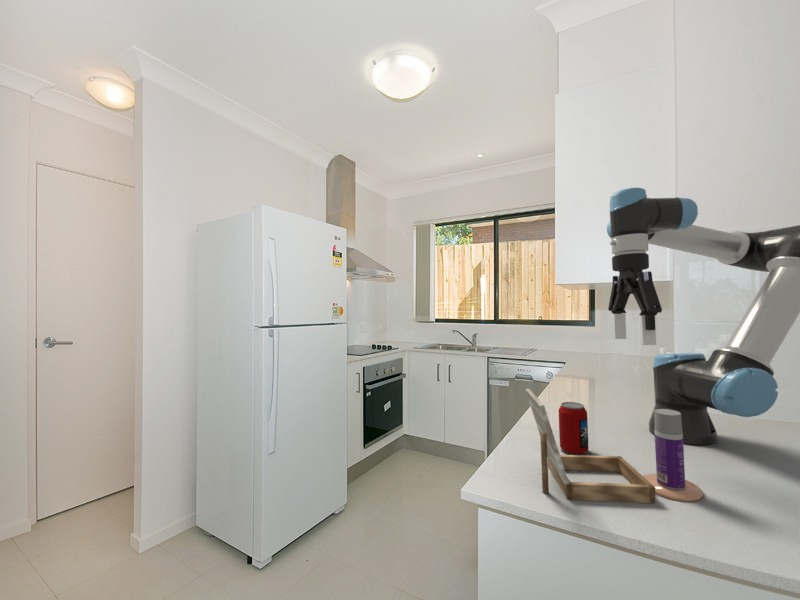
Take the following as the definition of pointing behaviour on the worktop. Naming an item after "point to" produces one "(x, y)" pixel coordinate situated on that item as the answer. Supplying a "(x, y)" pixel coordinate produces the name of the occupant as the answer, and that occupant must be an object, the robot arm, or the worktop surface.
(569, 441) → the beverage can
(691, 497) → the saucer
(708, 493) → the worktop surface
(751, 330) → the robot arm
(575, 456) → the wooden frame
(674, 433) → the container
